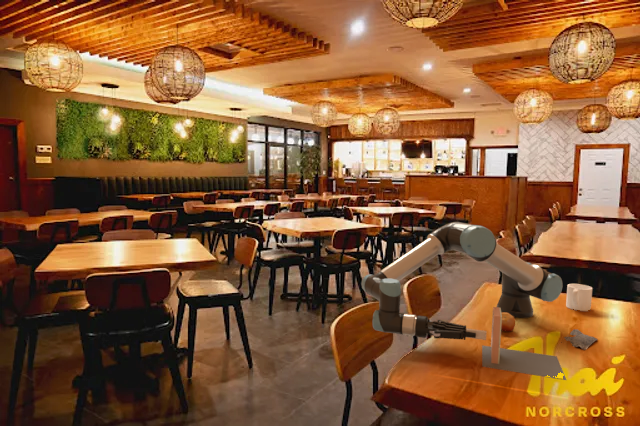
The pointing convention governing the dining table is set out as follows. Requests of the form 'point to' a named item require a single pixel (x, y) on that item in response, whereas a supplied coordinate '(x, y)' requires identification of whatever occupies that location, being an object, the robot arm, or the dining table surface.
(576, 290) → the mug
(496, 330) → the terracotta tile
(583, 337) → the stone slab
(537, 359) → the rubber mat
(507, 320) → the fruit
